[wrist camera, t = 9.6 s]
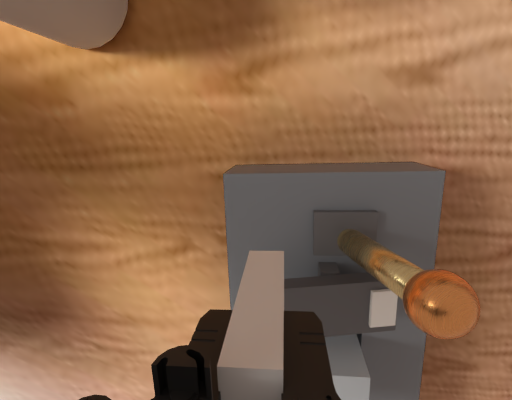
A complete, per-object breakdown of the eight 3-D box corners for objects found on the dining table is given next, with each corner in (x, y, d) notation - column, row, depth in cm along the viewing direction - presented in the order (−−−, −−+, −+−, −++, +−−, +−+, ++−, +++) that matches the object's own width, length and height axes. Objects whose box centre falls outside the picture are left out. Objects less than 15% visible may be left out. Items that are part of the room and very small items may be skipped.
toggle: (324, 258, 19) (432, 361, 11) (325, 219, 18) (441, 295, 10) (361, 254, 20) (492, 347, 11) (363, 215, 19) (504, 284, 11)
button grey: (294, 360, 25) (296, 429, 19) (294, 314, 24) (296, 373, 18) (348, 363, 25) (366, 435, 19) (350, 316, 24) (370, 377, 18)
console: (246, 400, 31) (235, 471, 24) (236, 165, 25) (217, 177, 19) (390, 411, 29) (418, 490, 23) (413, 161, 23) (458, 174, 17)
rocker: (267, 329, 19) (270, 345, 18) (266, 280, 19) (269, 292, 17) (385, 318, 20) (397, 332, 19) (389, 270, 19) (402, 281, 18)
